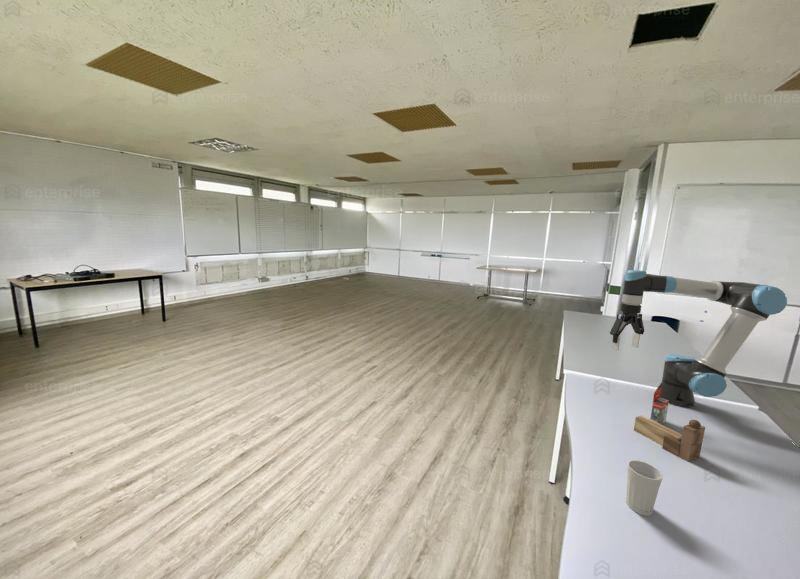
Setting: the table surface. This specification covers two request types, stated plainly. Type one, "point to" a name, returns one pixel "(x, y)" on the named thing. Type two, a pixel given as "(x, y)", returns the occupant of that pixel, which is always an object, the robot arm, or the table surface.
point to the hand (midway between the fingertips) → (625, 348)
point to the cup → (642, 486)
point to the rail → (654, 430)
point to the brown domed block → (687, 441)
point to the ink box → (659, 408)
